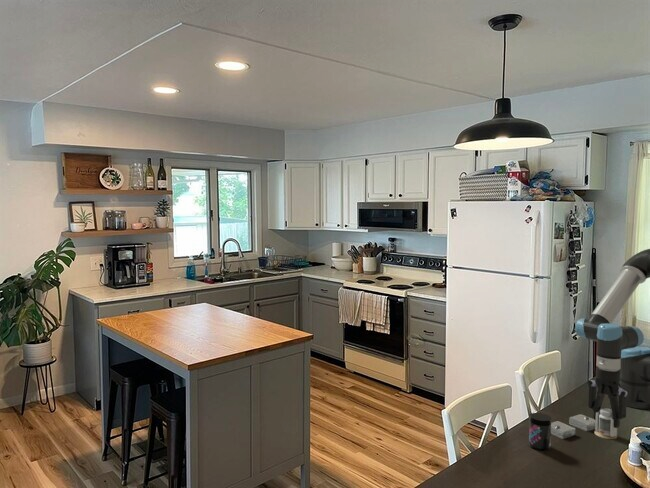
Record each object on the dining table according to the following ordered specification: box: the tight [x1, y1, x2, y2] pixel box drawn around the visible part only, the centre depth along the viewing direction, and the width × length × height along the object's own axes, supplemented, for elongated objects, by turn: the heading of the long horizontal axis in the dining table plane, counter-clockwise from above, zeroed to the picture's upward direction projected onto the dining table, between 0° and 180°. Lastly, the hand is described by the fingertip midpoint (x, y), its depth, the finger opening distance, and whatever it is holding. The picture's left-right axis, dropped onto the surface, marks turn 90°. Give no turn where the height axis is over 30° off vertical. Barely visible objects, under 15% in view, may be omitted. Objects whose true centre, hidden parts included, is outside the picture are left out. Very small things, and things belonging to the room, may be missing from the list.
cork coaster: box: [594, 429, 618, 440], centre depth 175 cm, size 7×7×1 cm
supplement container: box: [528, 412, 552, 452], centre depth 166 cm, size 7×7×10 cm
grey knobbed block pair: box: [551, 414, 596, 440], centre depth 180 cm, size 20×7×3 cm, turn 118°
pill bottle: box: [599, 407, 613, 436], centre depth 175 cm, size 5×5×8 cm
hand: (605, 432), depth 175 cm, fingers closed on pill bottle, 5 cm apart
